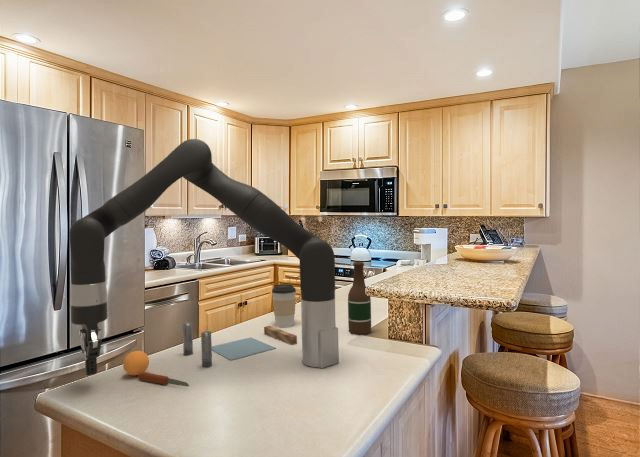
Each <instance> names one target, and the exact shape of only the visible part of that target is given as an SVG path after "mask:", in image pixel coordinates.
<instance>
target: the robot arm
mask: <svg viewBox="0 0 640 457" xmlns="http://www.w3.org/2000/svg"><path fill="white" fill-rule="evenodd" d="M181 178H184V180H186V181H187V182H188V183H191V184H192V185H193V186H196V187H197V188H199V189H201V190H202V191H204V192H205V193H207V194H209V195H211V197H213V198H215V200H217V201H218V202H219V203H220V204H222V205H223V206H224V207H225V208H227V210H229V211H231V212H232V213H233V214H234V215H235V216H237V217H238V218H239V219H240V220H241V221H243V223H244V222H245V224H246V225H247V226H250V228H252V229H253V230H255V231H257V232H258V233H260V234H262V235H264V236H265V237H267V238H269V239H272V240H273V241H275V242H277V243H278V244H279V245H281V246H283V247H284V248H286V249H287V250H288V251H290V253H292V254H293V255H294V256H295V257H296V258H297V259H298V260H299V282H300V285H299V286H300V304H301V305H300V306H301V308H300V309H301V311H300V312H301V348H302V350H301V352H302V363H303V364H304V365H305V366H308V367H313V368H319V369H323V368H324V369H325V368H327V367H330V366H333V365H335V364H339V363H340V356H339V352H340V350H339V327H337V326H336V262H335V261H336V260H335V258H336V256H335V252H334V249H333V247H332V246H331V244H330V243H329V242H327V241H326V240H324V239H323V238H320V237H319V236H317V235H315V234H313V233H312V232H310V231H309V230H307V229H306V228H304V227H302V226H301V225H300V224H299V223H297V222H296V221H295V220H294V219H293V218H292V217H291V216H290V215H289V214H288V213H287V212H286V211H285V210H284V209H283V208H282V207H280V206H279V205H278V204H277V203H276V202H275V201H274V200H272V199H271V198H270V197H268V195H266V194H265V193H263V192H262V191H260V190H259V189H258V188H255V187H254V186H251V185H249V184H246V183H243V182H241V181H238V180H235V179H233V178H231V177H229V176H228V175H226V173H224V172H223V171H222V170H221V169H220V168H218V167H217V166H216V165H215V164H214V163H213V156H212V150H211V148H210V147H209V144H207V143H206V141H204V140H201V139H199V138H198V139H197V138H190V139H186V140H184V141H183V142H182V143H180V144H178V146H176V147H175V148H174V149H173V150H172V151H171V152H170V153H169V154H168V155H167V156H166V157H165V158H163V160H161V161H160V162H159V163H157V165H155V166H154V167H153V168H152V169H151V170H150V171H148V172H146V174H145V175H143V176H142V177H140V178H139V179H138V180H137V181H135V182H134V183H132V184H131V185H129V186H127V187H126V188H124V190H122V191H120V192H118V193H117V194H116V195H114V196H112V197H111V198H110V199H108V200H107V201H105V203H103V205H102V206H100V207H98V208H97V209H95V210H93V211H91V212H90V213H88V214H86V215H85V216H84V217H82V218H80V219H77V220H76V221H74V223H72V225H71V226H70V229H69V243H70V244H69V245H70V254H71V255H70V256H71V267H70V279H71V280H70V282H71V286H70V287H71V288H70V320H71V321H70V322H71V324H73V325H76V326H81V329H78V330H79V331H78V333H79V334H78V335H79V337H80V347H81V353H82V354H83V358H84V368H85V369H84V373H85V374H86V376H91V375H96V374H97V373H98V358H100V353H101V348H102V343H103V341H102V338H101V337H102V330H101V328H99V326H98V325H99V324H100V323H102V322H104V321H106V320H107V319H108V317H109V316H108V289H107V284H106V265H105V264H106V263H105V260H104V258H105V241H106V239H105V238H107V237H108V236H110V235H111V234H112V233H113V232H116V230H117V229H119V228H121V227H123V226H125V225H127V224H129V223H130V222H131V221H133V220H135V219H136V218H137V217H139V216H140V215H142V214H143V213H145V211H147V210H148V209H149V208H150V207H152V205H154V203H156V201H158V200H159V199H160V197H162V195H163V194H164V192H165V191H167V189H169V188H170V187H171V186H172V185H173V184H175V183H176V182H177V181H178V180H180V179H181Z"/></svg>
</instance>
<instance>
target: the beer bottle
mask: <svg viewBox="0 0 640 457" xmlns="http://www.w3.org/2000/svg"><path fill="white" fill-rule="evenodd" d="M352 266H353V279H352V280H353V281H352V286H351V287H350V289H349V291H348V295H347V310H348V311H347V313H348V315H347V319H348V321H347V322H348V332H349V333H350V334H351V335H355V336H367V335H368V334H371V333H372V303H371V302H372V300H371V295H370V296H367V295H366V294H365V288H366V287H367V286H366V280H365V272H364V266H365V263H364V262H363V261H354V262H353V263H352Z"/></svg>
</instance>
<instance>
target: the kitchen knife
mask: <svg viewBox="0 0 640 457" xmlns="http://www.w3.org/2000/svg"><path fill="white" fill-rule="evenodd" d="M137 376H138V380H139V381H141V382H144V383H145V382H146V383H154V384H160V385H163V386H167V385H175V386H182V387H190V384H189V383H188V382H186V381H183V380H179V379H174V378H170V377H169V376H167V375H161V374H157V373H156V374H155V373H151V372H146V371H144V372H143V373H140V374H139V375H137Z"/></svg>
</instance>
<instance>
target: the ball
mask: <svg viewBox="0 0 640 457" xmlns="http://www.w3.org/2000/svg"><path fill="white" fill-rule="evenodd" d="M122 362H123V363H122V364H123V366H122V367H123V370H124V371H125V373H126V374H128V375H130V376H138V375H139V374H140V373H143V372H146V371H147V369H148V368H149V365H150V357H149V356H148V355H147V353H145V352H144V351H142V350H134V351H131V352H130V353H128V354H127V355H126V356H125V358H124V360H123V361H122Z"/></svg>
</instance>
